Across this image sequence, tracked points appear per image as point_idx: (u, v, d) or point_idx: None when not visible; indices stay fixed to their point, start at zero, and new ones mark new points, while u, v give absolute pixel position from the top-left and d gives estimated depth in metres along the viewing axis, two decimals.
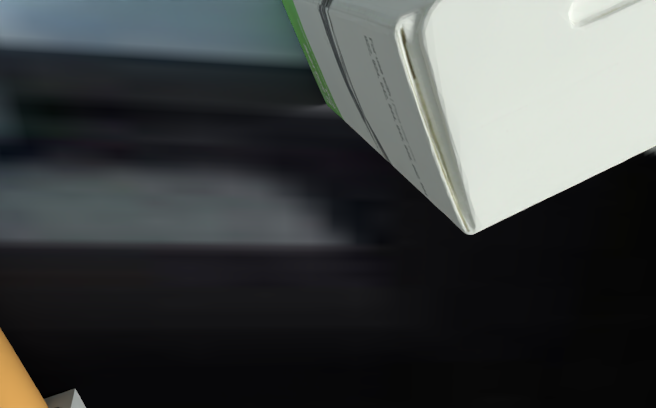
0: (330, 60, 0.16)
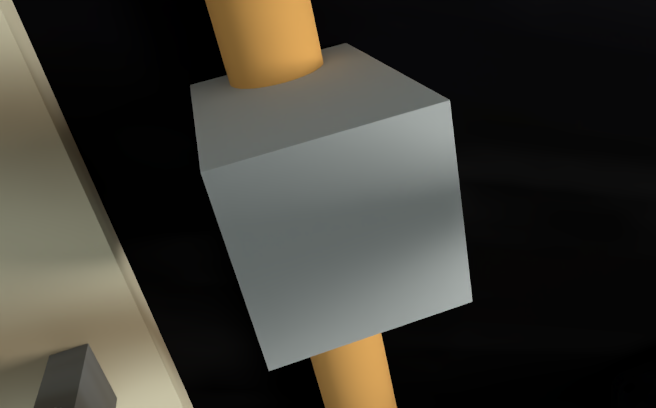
0: None
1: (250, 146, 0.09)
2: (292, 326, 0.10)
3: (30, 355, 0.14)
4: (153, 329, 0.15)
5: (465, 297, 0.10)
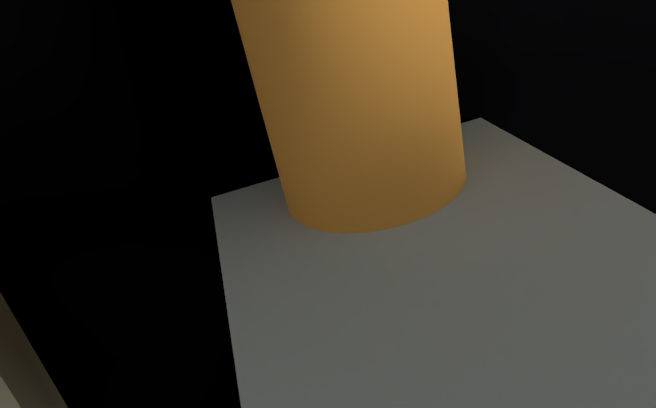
0: None
1: None
2: None
3: None
4: None
5: None
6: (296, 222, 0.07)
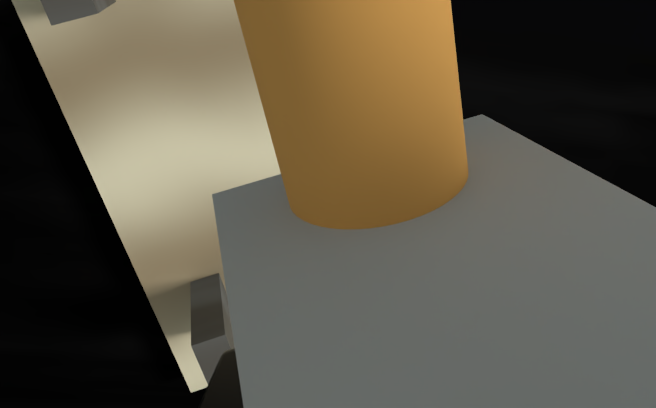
0: None
1: None
2: None
3: None
4: None
5: None
6: (297, 219, 0.06)
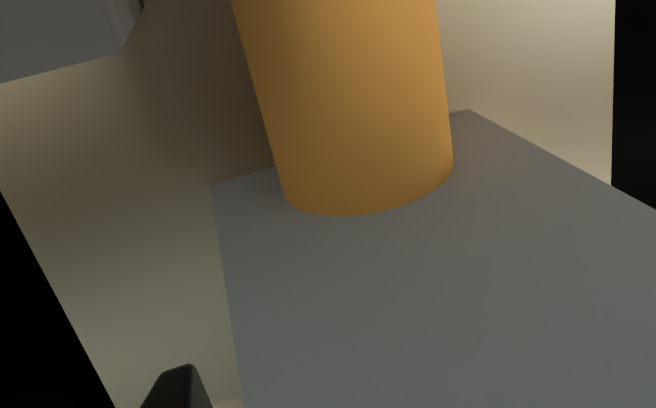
0: None
1: None
2: None
3: None
4: None
5: None
6: (291, 207, 0.07)
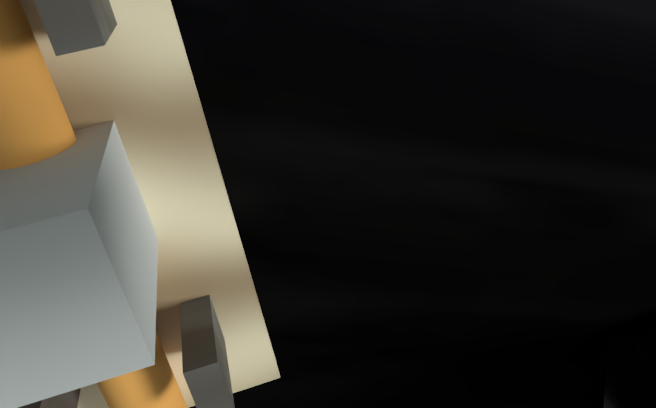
0: None
1: None
2: None
3: (166, 302, 0.19)
4: None
5: (146, 361, 0.12)
6: None
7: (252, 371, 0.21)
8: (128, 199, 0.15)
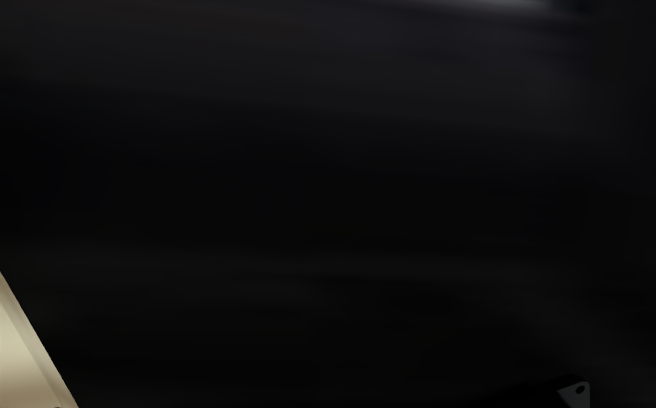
0: None
1: None
2: None
3: None
4: (63, 395, 0.20)
5: None
6: None
7: None
8: None
